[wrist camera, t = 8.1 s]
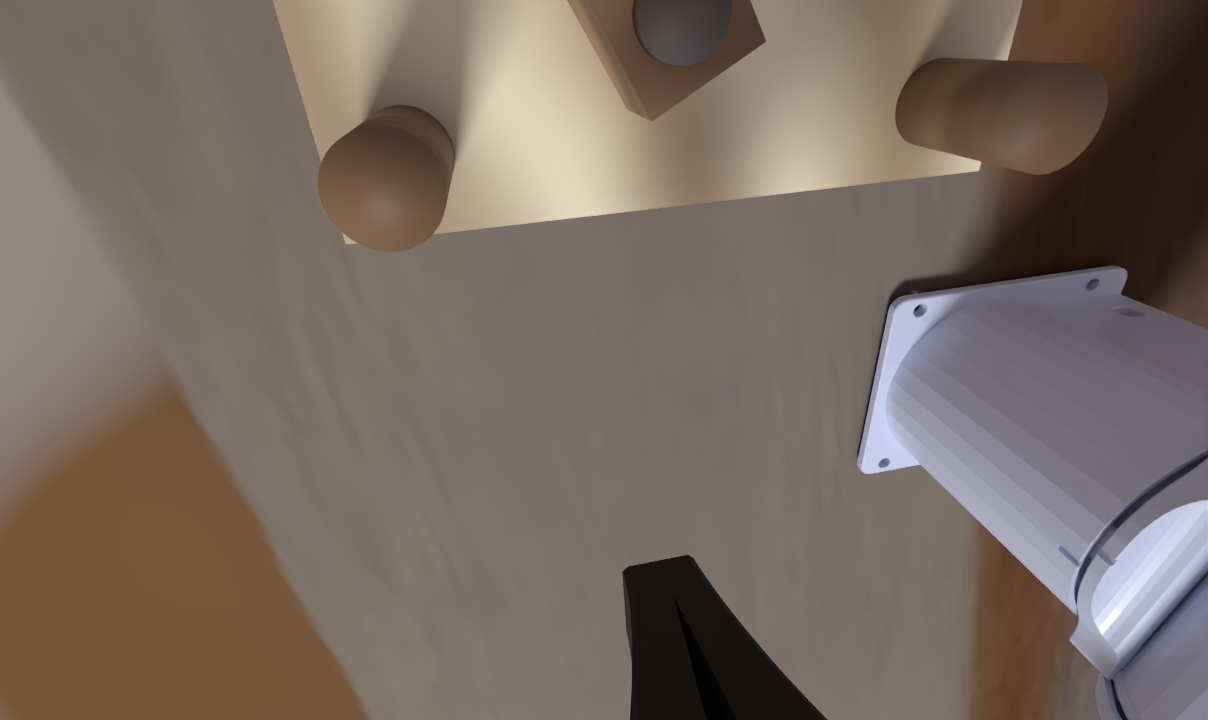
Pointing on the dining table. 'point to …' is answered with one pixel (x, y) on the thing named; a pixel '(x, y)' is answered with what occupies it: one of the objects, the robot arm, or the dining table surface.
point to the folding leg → (667, 45)
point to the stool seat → (676, 138)
